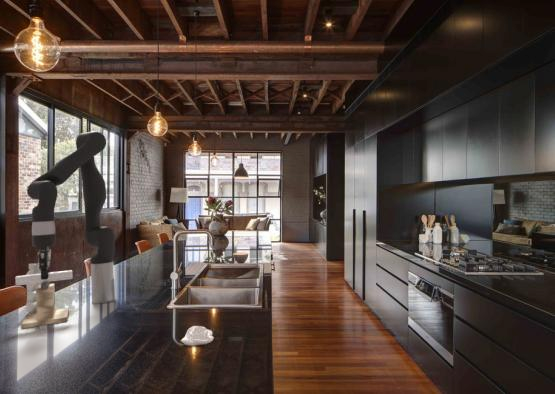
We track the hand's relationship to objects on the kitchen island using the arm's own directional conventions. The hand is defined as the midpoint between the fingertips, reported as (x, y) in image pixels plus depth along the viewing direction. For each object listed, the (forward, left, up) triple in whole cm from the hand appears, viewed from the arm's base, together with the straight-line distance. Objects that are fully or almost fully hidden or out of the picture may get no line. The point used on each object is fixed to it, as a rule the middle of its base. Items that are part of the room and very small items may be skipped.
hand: (45, 277), depth 138 cm
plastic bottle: (+5, -14, -16) cm, 22 cm away
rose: (-44, +54, -16) cm, 71 cm away
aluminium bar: (0, 0, -1) cm, 1 cm away
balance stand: (0, 0, -16) cm, 16 cm away
